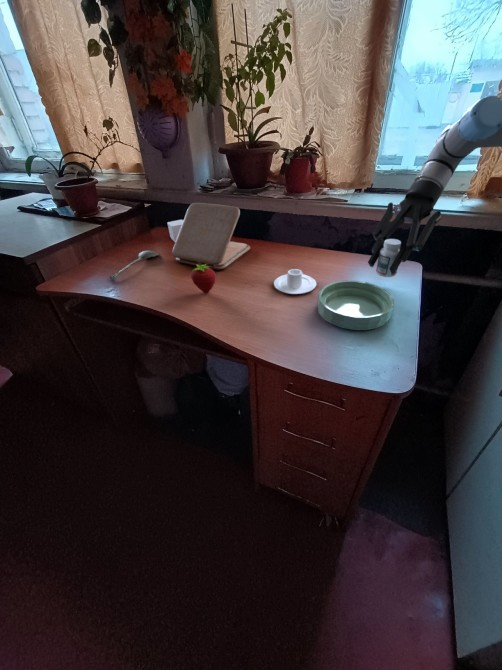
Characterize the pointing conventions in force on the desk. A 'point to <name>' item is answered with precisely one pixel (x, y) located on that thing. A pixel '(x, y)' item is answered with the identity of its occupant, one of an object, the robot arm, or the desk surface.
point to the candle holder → (295, 282)
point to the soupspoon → (141, 256)
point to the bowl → (355, 305)
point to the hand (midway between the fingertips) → (380, 267)
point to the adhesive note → (174, 228)
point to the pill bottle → (388, 257)
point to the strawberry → (203, 278)
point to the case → (209, 236)
